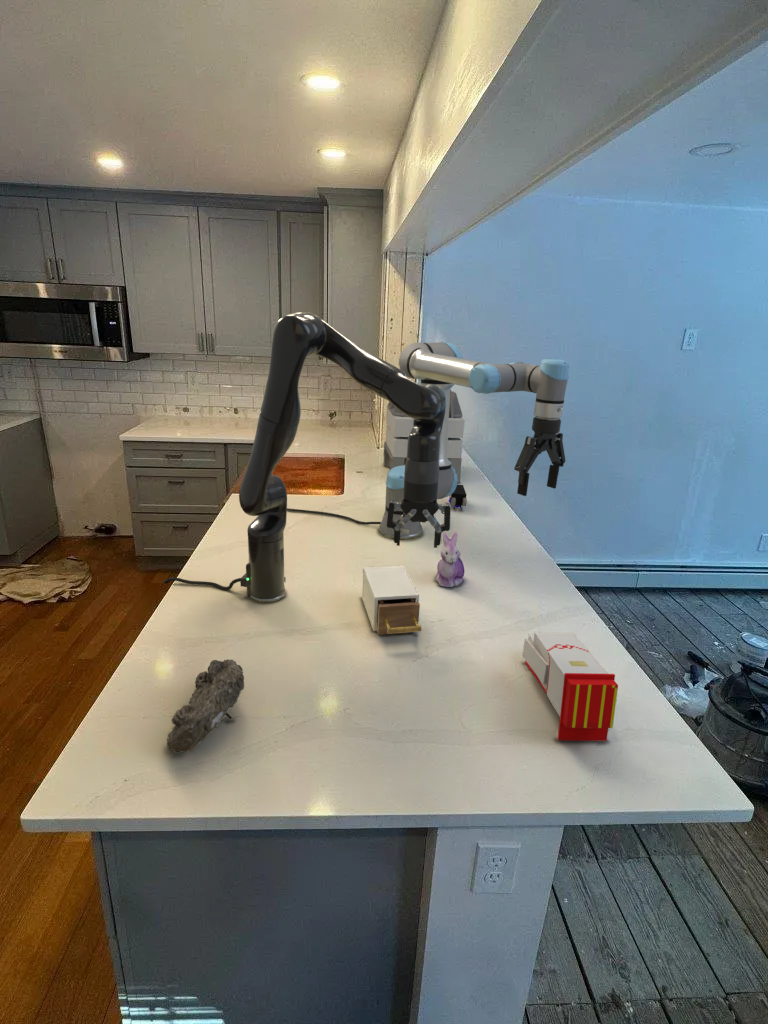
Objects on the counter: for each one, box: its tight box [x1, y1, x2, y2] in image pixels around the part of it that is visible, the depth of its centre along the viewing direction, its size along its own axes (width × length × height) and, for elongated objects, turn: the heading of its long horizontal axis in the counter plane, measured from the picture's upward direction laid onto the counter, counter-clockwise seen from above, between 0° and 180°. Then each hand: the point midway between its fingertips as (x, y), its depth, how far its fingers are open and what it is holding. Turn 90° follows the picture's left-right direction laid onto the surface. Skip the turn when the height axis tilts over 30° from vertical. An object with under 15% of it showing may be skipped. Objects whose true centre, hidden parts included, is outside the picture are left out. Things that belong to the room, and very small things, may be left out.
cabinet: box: [361, 564, 420, 632], centre depth 146 cm, size 17×11×9 cm, turn 12°
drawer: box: [376, 598, 422, 635], centre depth 140 cm, size 22×10×8 cm, turn 12°
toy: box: [522, 631, 619, 742], centre depth 117 cm, size 12×13×30 cm
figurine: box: [435, 531, 465, 588], centre depth 164 cm, size 9×10×15 cm
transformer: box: [383, 389, 465, 484], centre depth 268 cm, size 34×33×41 cm
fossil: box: [166, 658, 245, 754], centre depth 106 cm, size 22×10×15 cm
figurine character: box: [448, 484, 468, 511], centre depth 230 cm, size 7×8×15 cm
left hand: (416, 545), depth 130 cm, fingers open, 8 cm apart
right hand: (536, 490), depth 163 cm, fingers open, 13 cm apart
